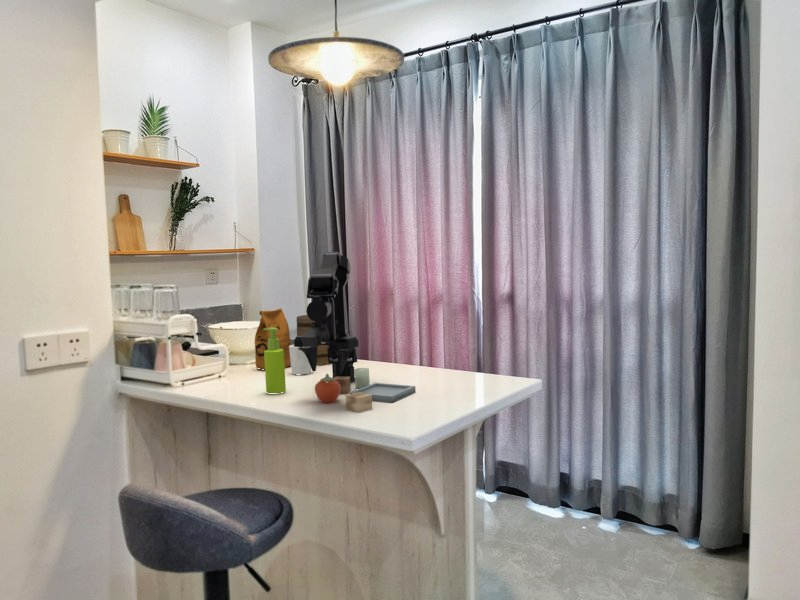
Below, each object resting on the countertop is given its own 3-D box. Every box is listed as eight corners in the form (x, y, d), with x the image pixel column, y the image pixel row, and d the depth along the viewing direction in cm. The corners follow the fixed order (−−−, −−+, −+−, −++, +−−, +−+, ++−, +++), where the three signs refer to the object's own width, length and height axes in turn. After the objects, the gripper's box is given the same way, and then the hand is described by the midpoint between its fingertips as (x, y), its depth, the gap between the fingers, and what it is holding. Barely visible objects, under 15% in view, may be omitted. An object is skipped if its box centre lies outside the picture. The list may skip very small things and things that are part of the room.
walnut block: (332, 394, 189) (331, 379, 189) (336, 391, 194) (335, 376, 193) (347, 394, 189) (346, 379, 188) (350, 391, 193) (350, 376, 193)
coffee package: (251, 369, 235) (248, 310, 233) (277, 364, 244) (274, 307, 243) (269, 372, 228) (266, 311, 227) (295, 366, 238) (292, 308, 237)
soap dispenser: (277, 389, 199) (273, 326, 198) (289, 392, 195) (286, 327, 193) (260, 392, 195) (257, 328, 194) (273, 395, 190) (269, 329, 189)
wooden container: (343, 362, 243) (341, 305, 241) (309, 367, 235) (306, 308, 233) (325, 357, 255) (322, 303, 254) (291, 362, 247) (288, 306, 245)
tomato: (343, 403, 178) (342, 375, 177) (317, 405, 176) (316, 377, 175) (338, 397, 185) (337, 370, 184) (313, 400, 183) (312, 372, 182)
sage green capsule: (352, 389, 195) (351, 370, 194) (360, 386, 199) (359, 367, 198) (364, 390, 193) (364, 371, 192) (372, 387, 197) (371, 368, 196)
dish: (350, 398, 183) (349, 392, 182) (375, 388, 195) (375, 382, 195) (392, 402, 176) (391, 396, 176) (415, 392, 188) (415, 386, 188)
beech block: (346, 410, 170) (345, 395, 170) (359, 406, 174) (359, 392, 174) (358, 413, 167) (357, 398, 166) (372, 409, 170) (371, 394, 170)
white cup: (317, 372, 225) (316, 344, 224) (302, 376, 218) (301, 347, 218) (300, 370, 229) (299, 343, 228) (285, 374, 223) (284, 346, 222)
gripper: (280, 320, 176) (283, 375, 177) (335, 321, 167) (338, 380, 168) (304, 315, 186) (307, 368, 187) (358, 316, 176) (360, 372, 178)
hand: (327, 372), depth 180 cm, fingers open, 9 cm apart
